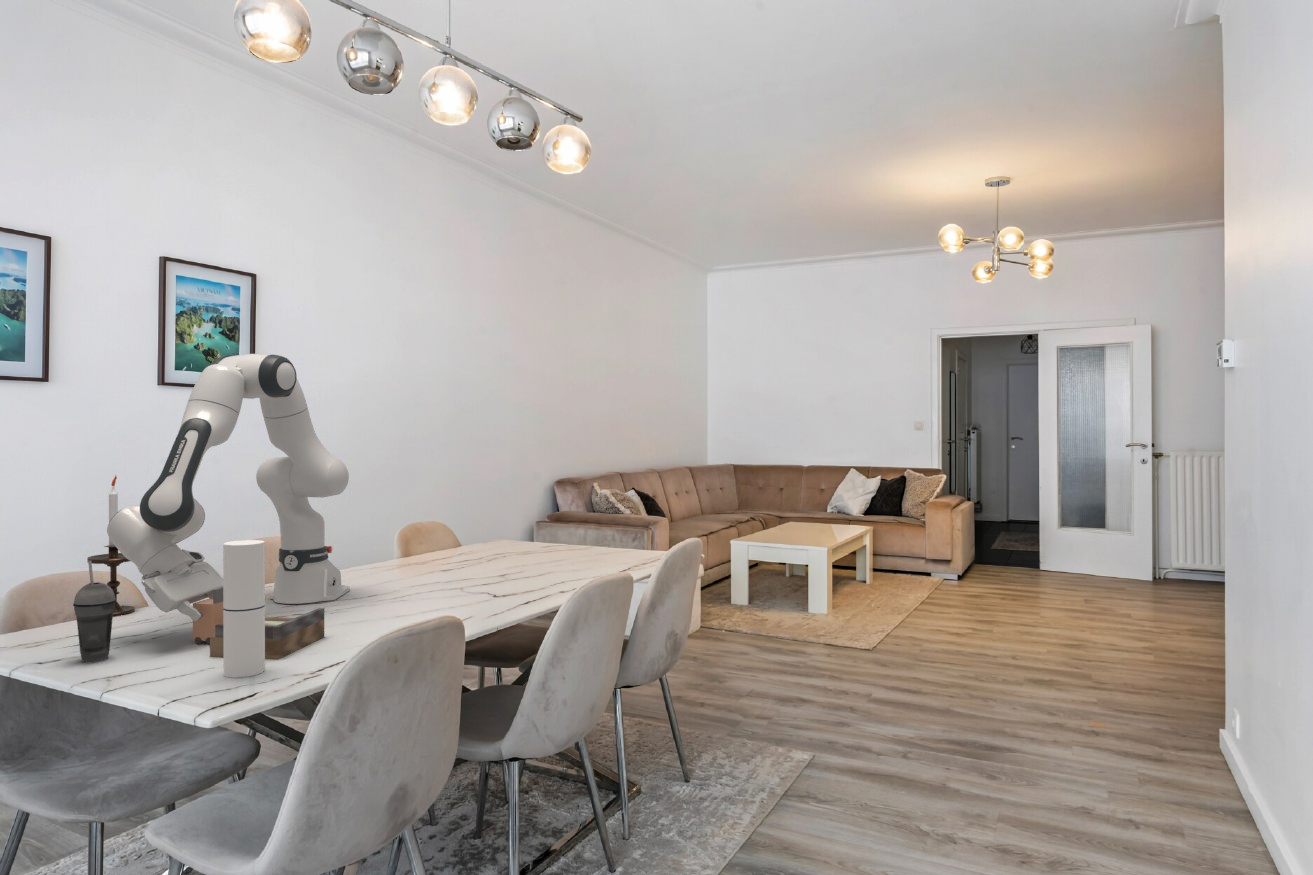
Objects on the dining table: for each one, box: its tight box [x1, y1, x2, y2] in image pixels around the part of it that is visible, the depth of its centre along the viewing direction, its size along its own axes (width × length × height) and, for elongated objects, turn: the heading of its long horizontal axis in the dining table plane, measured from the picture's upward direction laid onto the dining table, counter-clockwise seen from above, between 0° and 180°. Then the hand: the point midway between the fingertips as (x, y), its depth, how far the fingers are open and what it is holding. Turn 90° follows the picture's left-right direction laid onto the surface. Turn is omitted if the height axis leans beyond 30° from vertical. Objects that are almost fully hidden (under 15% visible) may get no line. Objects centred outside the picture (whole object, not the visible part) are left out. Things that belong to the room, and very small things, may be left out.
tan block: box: [192, 587, 224, 646], centre depth 180 cm, size 5×5×12 cm
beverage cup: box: [72, 561, 116, 663], centre depth 166 cm, size 7×7×20 cm
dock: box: [209, 607, 325, 660], centre depth 177 cm, size 18×15×6 cm
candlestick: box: [86, 474, 136, 617], centre depth 207 cm, size 11×11×35 cm
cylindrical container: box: [222, 539, 266, 679], centre depth 158 cm, size 7×7×25 cm
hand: (212, 613), depth 180 cm, fingers open, 8 cm apart
